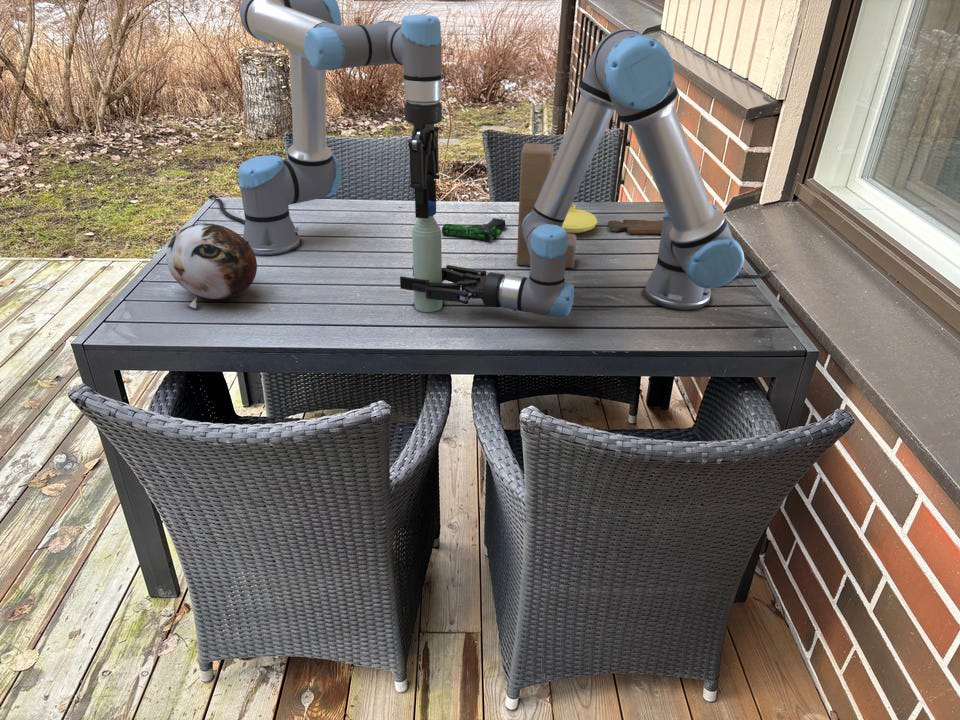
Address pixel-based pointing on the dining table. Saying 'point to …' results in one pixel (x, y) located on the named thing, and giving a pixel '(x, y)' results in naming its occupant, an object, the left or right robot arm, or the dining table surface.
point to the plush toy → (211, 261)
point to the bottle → (427, 260)
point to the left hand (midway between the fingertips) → (426, 213)
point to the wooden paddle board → (637, 226)
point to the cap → (432, 208)
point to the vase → (578, 221)
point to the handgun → (476, 230)
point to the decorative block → (536, 195)
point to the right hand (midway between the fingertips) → (407, 276)
